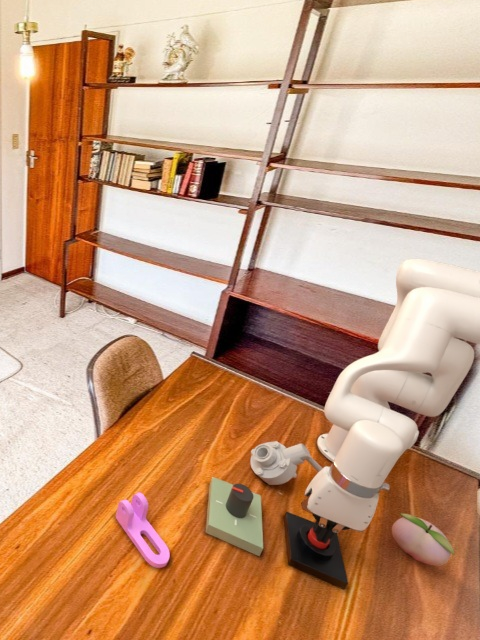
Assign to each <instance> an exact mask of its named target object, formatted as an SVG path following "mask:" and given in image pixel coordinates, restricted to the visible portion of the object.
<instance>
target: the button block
mask: <svg viewBox="0 0 480 640" xmlns="http://www.w3.org/2000/svg"><path fill="white" fill-rule="evenodd" d="M315 522H316V521H312V520H309V519H307V518H304V517H302V516H299V515H297V514H295V513H292V512H289V511H285V513H284V515H283V527H284V537H285V547H286V558H287V566H290V567H292V568H294V569H297V570H299V571H301V572H303V573H306V574H308V575H310V576H313V577H314V578H318V580H321V581H324V582H325V583H328V584H331V585H333V586H335V587H337V588H339V589H342V590H345V589H346V587H347V586H348V585H349V581H348V575H347V572H346V568H345V562H344V559H343V554H342V549H341V545H340V540H339V535H338V533H334V535H333V537H332V538H331V539H330V543H329V544H328V546H327V548H325V549H320V548H317V547H316V546H314V545H313V544H312V543H311V542H310V541H309V539H308V533H309V531H310V529H311V528H313V526H314V524H315Z"/></svg>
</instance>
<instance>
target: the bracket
mask: <svg viewBox="0 0 480 640" xmlns="http://www.w3.org/2000/svg"><path fill="white" fill-rule="evenodd" d="M148 510H149V502H148V499H147V498H146V496H145V495H144V494H143V493H142V492H141V491H140V492H136V493H135V494H133V495H132V498H131V502H130V501H129V500H128V499H126V498H125V499H123V500H120V501H119V502H118V504H117V508H116V514H115V519H116V521H117V522H118V524H119V525H120V526H121V528H122V529H123V530H124V532H125V533H126V535H127V537H128V538H129V540H131V542H132V543H133V545H134V546H135V548H136V549H137V550H138V552H139V553H140V554H141V556H142V557H143V559H144V560H145V562H146V563H147V564H148V565H149V566H151V567H153V568H156V569H163V568H165V567H166V566H167V565H168V563H169V560H170V557H171V556H170V555H171V554H170V549H169V546H168V545H167V544H166V543H165V541H164V540H163V539H162V537H161V536H160V535H159V534H158V532H157V531H156V530H155V529H154V527H153V526H152V524H151V523H150V522H149V521H148V519H147V515H148ZM142 535H144V536H146V538H147V539H148V540H149V542H150V543H151V544H152V546H153V547H154V548H155V550H156V551H157V552H158V554H156V553H154V551H153V550H152V549H151V547H150V546H149V544H148V543H147V542H146V540H145V539H144V538H143V536H142Z"/></svg>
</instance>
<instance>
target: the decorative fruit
mask: <svg viewBox="0 0 480 640" xmlns="http://www.w3.org/2000/svg"><path fill="white" fill-rule="evenodd" d="M399 516H401V517H400V518H398V519H396V520H395V522H394V523H392V526H391V534H392V537H393V539H394V541H395V542H396V544H397V545H398V546H399V548H400V549H401V550H402V551H403V552H404V553H406V554H407V555H409V556H411V558H412V559H414V560H416V561H417V562H420V563H423V564H426V565H429V566H436V567H437V566H444V565H445V564H447V563H448V561H449V559H450V558H451V555H453V556H455V555H456V554H455V551H454V548H453V546H452V544H451V543H450V541H449V539H448V537H446V535H445V534H444V533H443V531H442V530H440V529H439V528H438V527H437V526H435V525H434V524H433V523H431V522H429V521H427V520H425V519H423V518H421V517H417V516H415V515H413V514H409V513H402V512H401V513H399Z"/></svg>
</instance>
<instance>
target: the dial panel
mask: <svg viewBox="0 0 480 640" xmlns="http://www.w3.org/2000/svg"><path fill="white" fill-rule="evenodd" d="M233 485H234V484H232V483H230V482H227V481H225V480H222V479H219V478H218V477H214V476H212V477H211V480H210V482H209V488H208V498H207V500H208V501H207V512H206V524H205V534H208V535H210V536H212V537H215V538H217V539H219V540H221V541H223V542H226V543H228V544H229V545H232V546H234V547H236V548H239V549H242V550H244V551H246V552H248V553H250V554H253V555H255V556H257V557H260V556H261V554H262V552H263V550H264V534H263V512H262V511H263V509H262V496H261V494H258V493H256V492H253V491H252V493H253V496H254V497H253V500H252V503H251V505H250V507H249V509H248V512H247V514H246V516H245V517H244V518H237V517H234V516H233V515H231V514H230V513H229V512H228V510H227V509H226V502H227V500H228V497H229V494H230V492H231V489H232V487H233Z"/></svg>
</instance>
